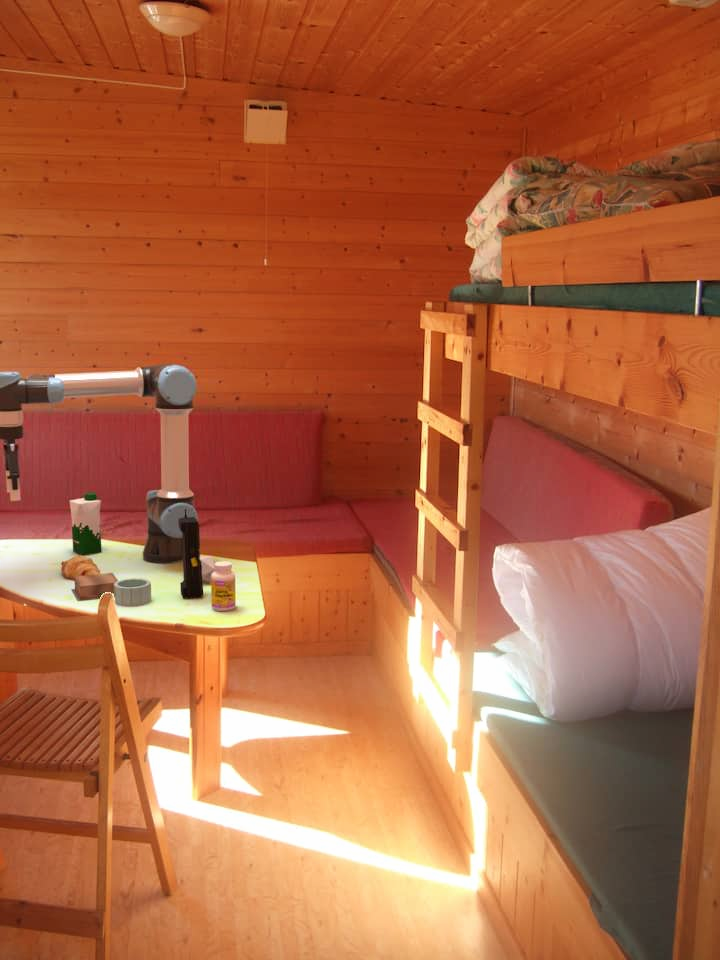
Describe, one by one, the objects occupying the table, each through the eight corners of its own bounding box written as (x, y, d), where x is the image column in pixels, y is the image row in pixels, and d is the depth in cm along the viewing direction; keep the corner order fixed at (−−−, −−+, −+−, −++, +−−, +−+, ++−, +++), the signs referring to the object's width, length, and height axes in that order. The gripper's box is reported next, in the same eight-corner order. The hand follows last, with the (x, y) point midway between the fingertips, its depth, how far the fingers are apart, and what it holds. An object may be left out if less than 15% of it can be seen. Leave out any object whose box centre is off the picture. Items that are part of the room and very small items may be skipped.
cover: (112, 585, 293) (112, 572, 293) (119, 595, 283) (119, 582, 283) (75, 589, 289) (74, 576, 288) (80, 599, 279) (80, 586, 278)
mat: (115, 585, 295) (115, 584, 295) (123, 597, 283) (123, 596, 283) (71, 590, 289) (71, 589, 289) (77, 602, 278) (77, 601, 278)
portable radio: (204, 598, 282) (202, 513, 277) (183, 600, 280) (181, 514, 276) (201, 591, 289) (199, 508, 285) (180, 592, 287) (178, 509, 283)
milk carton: (105, 552, 334) (103, 494, 330) (80, 556, 328) (78, 498, 324) (93, 547, 340) (90, 490, 337) (68, 551, 334) (66, 494, 331)
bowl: (146, 594, 285) (146, 576, 284) (154, 604, 276) (153, 585, 275) (111, 598, 281) (111, 580, 280) (118, 608, 272) (117, 589, 271)
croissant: (106, 593, 299) (116, 568, 300) (80, 584, 292) (90, 559, 293) (71, 578, 313) (81, 554, 315) (45, 569, 306) (55, 545, 307)
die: (201, 589, 293) (220, 562, 294) (179, 573, 295) (198, 547, 296) (209, 591, 301) (227, 565, 302) (187, 576, 303) (205, 550, 304)
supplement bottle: (211, 612, 269) (210, 567, 267) (211, 605, 276) (210, 560, 274) (236, 611, 270) (235, 566, 268) (235, 604, 277) (234, 560, 275)
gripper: (-7, 420, 296) (-3, 489, 300) (-2, 430, 274) (3, 505, 277) (19, 419, 299) (23, 488, 303) (26, 429, 277) (31, 503, 280)
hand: (13, 496), depth 290 cm, fingers open, 13 cm apart
